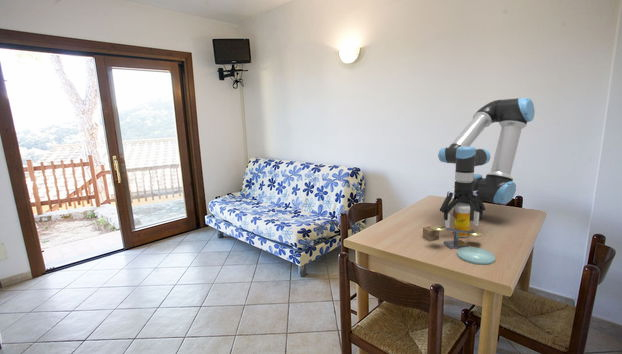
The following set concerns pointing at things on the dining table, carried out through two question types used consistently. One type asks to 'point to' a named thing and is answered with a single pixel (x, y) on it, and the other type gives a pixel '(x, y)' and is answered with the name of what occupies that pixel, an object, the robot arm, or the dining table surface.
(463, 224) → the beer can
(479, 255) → the dish
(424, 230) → the walnut block
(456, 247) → the balance
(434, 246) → the dining table surface
